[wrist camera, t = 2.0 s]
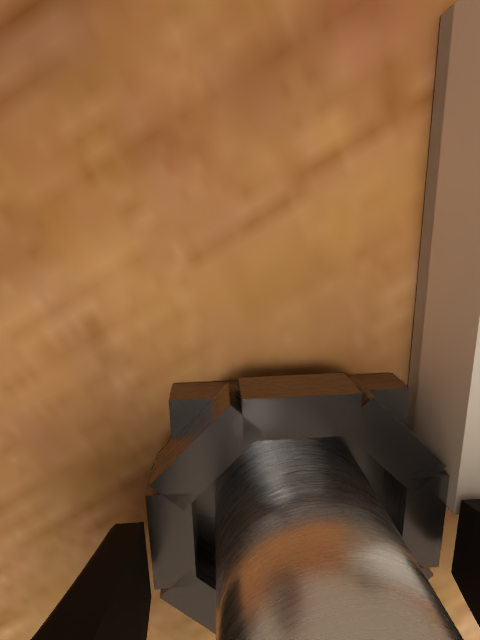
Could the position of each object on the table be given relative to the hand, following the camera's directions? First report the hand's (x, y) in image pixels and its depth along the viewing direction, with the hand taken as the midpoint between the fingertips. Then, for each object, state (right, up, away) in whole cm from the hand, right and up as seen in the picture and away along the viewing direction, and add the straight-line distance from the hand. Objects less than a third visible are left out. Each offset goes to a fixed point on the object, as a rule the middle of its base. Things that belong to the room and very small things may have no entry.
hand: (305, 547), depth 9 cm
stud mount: (0, +1, +3) cm, 3 cm away
